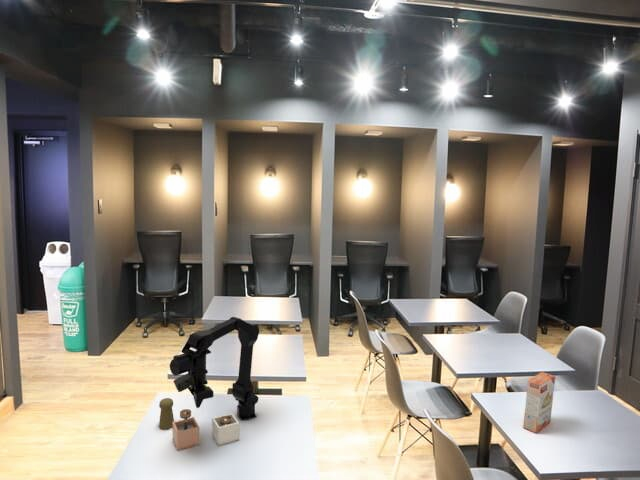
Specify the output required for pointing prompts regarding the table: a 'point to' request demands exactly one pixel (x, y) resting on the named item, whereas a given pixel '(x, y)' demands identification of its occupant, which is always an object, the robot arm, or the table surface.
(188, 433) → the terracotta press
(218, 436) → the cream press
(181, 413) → the brown and grey plunger
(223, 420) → the round copper knob
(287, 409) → the table surface
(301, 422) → the table surface
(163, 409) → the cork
